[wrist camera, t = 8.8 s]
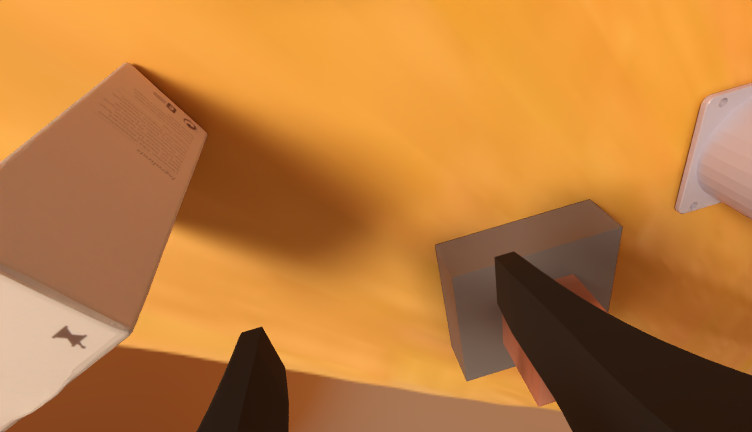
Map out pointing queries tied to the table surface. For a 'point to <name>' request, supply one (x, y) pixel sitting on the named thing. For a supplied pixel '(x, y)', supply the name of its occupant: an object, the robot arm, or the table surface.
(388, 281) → the table surface
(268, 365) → the robot arm
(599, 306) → the cube
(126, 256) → the skincare box
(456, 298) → the base block
